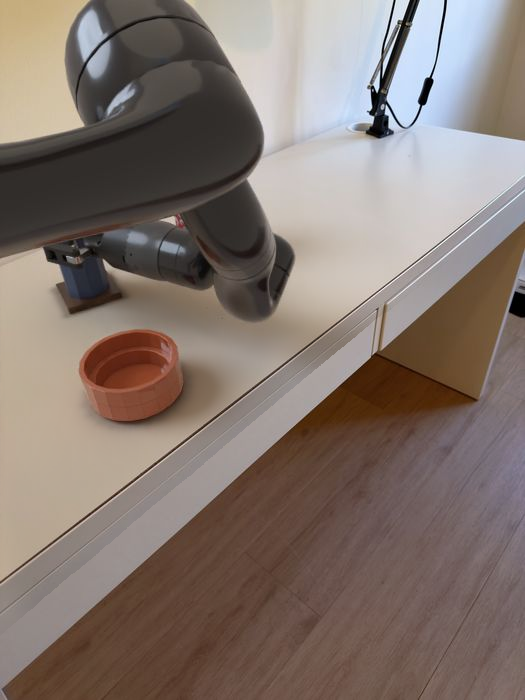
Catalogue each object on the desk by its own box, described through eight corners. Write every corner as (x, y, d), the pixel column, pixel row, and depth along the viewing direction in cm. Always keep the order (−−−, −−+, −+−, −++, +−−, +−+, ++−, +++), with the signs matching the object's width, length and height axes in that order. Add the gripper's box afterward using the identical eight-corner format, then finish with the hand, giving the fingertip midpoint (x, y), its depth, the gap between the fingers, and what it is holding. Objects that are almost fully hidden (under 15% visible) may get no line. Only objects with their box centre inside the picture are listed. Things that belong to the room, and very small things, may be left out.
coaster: (69, 314, 77) (67, 308, 76) (57, 289, 82) (55, 283, 82) (122, 297, 80) (121, 291, 79) (106, 274, 85) (105, 269, 84)
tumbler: (73, 303, 77) (49, 227, 70) (64, 284, 81) (39, 211, 74) (113, 291, 79) (94, 216, 72) (102, 273, 84) (82, 201, 76)
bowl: (105, 439, 58) (94, 406, 54) (79, 380, 65) (68, 349, 62) (199, 400, 62) (193, 368, 58) (163, 349, 69) (157, 318, 66)
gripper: (177, 199, 70) (88, 180, 77) (102, 245, 61) (9, 219, 68) (184, 249, 75) (100, 227, 82) (116, 299, 66) (27, 270, 72)
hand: (59, 224), depth 75 cm, fingers open, 8 cm apart
